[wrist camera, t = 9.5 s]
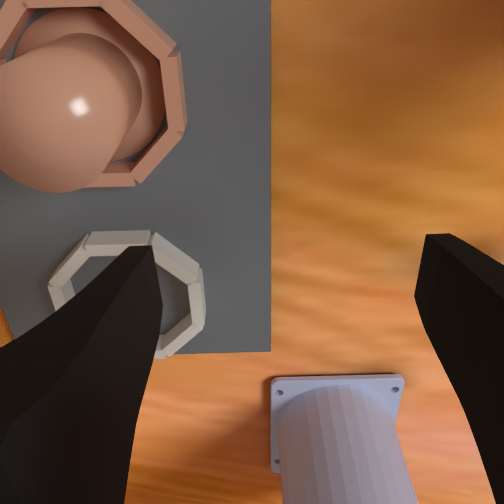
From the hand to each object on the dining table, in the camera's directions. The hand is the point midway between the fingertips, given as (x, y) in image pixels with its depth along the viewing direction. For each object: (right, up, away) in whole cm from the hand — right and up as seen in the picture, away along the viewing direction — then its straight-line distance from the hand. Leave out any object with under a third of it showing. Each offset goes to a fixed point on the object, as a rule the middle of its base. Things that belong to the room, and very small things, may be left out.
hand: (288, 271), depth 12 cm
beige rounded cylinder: (-7, +7, +6) cm, 11 cm away
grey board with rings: (-7, +3, +9) cm, 12 cm away
